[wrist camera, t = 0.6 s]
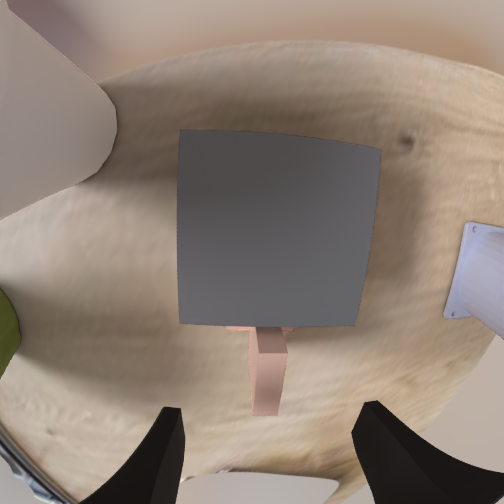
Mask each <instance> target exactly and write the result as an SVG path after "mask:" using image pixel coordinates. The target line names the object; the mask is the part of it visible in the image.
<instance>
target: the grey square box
mask: <svg viewBox="0 0 504 504" xmlns="http://www.w3.org/2000/svg"><path fill="white" fill-rule="evenodd" d="M380 161H381V149H379V148H374V147H369V146H363V145H358V144H352V143H346V142H340V141H333V140H326V139H319V138H311V137H303V136H294V135H284V134H273V133H261V132H245V131H224V130H180V142H179V161H178V188H177V275H178V302H179V321H180V324H195V325H214V326H240V327H329V326H355V323H356V319H357V314H358V310H359V305H360V301H361V296H362V291H363V286H364V281H365V276H366V271H367V265H368V260H369V254H370V248H371V241H372V235H373V228H374V220H375V213H376V204H377V195H378V185H379V174H380Z"/></svg>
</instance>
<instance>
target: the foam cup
mask: <svg viewBox="0 0 504 504" xmlns="http://www.w3.org/2000/svg"><path fill="white" fill-rule="evenodd" d="M116 133H117V121H116V109H115V107H114V105H113V103H112V102H111V100H110V99H109V97H108V96H107V94H106V92H104V91H103V90H102V88H101V87H99V86H98V85H97V84H96V83H95V82H94V81H93V80H91V79H90V78H89V77H88V76H87V75H86V74H85V73H83V72H82V71H81V70H80V69H79V68H78V67H77V66H75V65H74V64H73V63H72V62H71V61H70V60H68V59H67V58H66V57H65V56H64V55H63V54H62V53H60V52H59V51H58V50H57V49H56V48H55V47H53V46H52V45H51V44H50V43H49V42H47V41H46V40H45V39H44V38H43V37H41V36H40V35H39V34H38V33H37V32H35V31H34V30H33V29H32V28H31V27H30V26H28V25H27V24H26V23H25V22H24V21H22V20H21V19H20V18H19V17H18V16H16V15H15V14H14V13H13V12H12V11H10V10H9V8H8V5H7V2H6V0H0V220H1V219H3V218H5V217H7V216H9V215H11V214H13V213H15V212H17V211H19V210H21V209H23V208H25V207H27V206H29V205H31V204H33V203H35V202H37V201H39V200H41V199H43V198H46V197H48V196H50V195H52V194H55V193H57V192H59V191H61V190H64V189H66V188H69V187H71V186H73V185H75V184H77V183H80V182H82V181H83V180H85V179H87V178H88V177H90V176H92V175H93V174H95V173H97V172H98V170H99V169H100V167H101V166H102V165H103V163H104V162H105V160H106V159H107V158H108V156H109V155H110V154H111V151H112V147H113V143H114V140H115V136H116Z"/></svg>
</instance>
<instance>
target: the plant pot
mask: <svg viewBox="0 0 504 504" xmlns="http://www.w3.org/2000/svg"><path fill="white" fill-rule="evenodd" d="M20 342H21V335H20V333H19V326H18V319H17V316H16V314H15V311H14V309H13V307H12V305H11V304H10V302H9V300H8V299H7V297H6V296H5V295H4V293H3V292H2V291H1V290H0V379H1V377H2V375H3V373H4V371H5V369H6V367H7V366H8V364H9V362H10V360H11V359H12V357H13V355H14V354H15V352H16V350H17V349H18V347H19V345H20Z"/></svg>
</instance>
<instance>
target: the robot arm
mask: <svg viewBox="0 0 504 504" xmlns="http://www.w3.org/2000/svg"><path fill="white" fill-rule="evenodd" d="M473 227H474V229H473ZM470 316H474V317H476V318H477V319H478V320H480V321H481V322H482V323H483V324H485V325H486V326H487V327H489V328H490V329H491V330H492V331H494V332H495V333H496V334H497V335H499V336H500V337H501V338H502V339H504V228H503V227H497V226H492V225H487V224H481V223H476V222H470V221H468V222H467V223H466V224H465V226H464V231H463V237H462V242H461V247H460V252H459V257H458V261H457V266H456V270H455V274H454V278H453V282H452V286H451V289H450V293H449V296H448V300H447V303H446V306H445V310H444V313H443V317H444V318H445V319H455V318H463V317H470ZM351 434H352V438H353V443H354V447H355V451H356V454H357V456H358V459H359V462H360V464H361V467H362V469H363V471H364V474H365V476H366V479H367V481H368V484H369V486H370V489H371V491H372V494H373V497H374V501H375V504H495V503H496V502H498V501H499V500H500V499H501V498H502V497H503V496H504V473H500V472H494V471H490V470H485V469H482V468H479V467H476V466H473V465H470V464H467V463H465V462H462V461H460V460H458V459H455V458H453V457H452V456H450V455H448V454H446V453H444V452H442V451H441V450H439V449H437V448H436V447H434V446H433V445H431V444H430V443H428V442H427V441H426V440H424V439H423V438H421V437H420V436H419V435H417V434H416V433H415V432H414V431H412V430H411V429H410V428H409V427H407V426H406V425H405V424H404V423H403V422H402V421H400V420H399V419H398V418H397V417H396V416H395V415H394V414H392V413H391V412H390V411H389V410H388V409H387V408H386V407H385V406H383V405H382V404H381V403H380V402H379V401H378V400H376V401H370V402H364V405H363V407H362V410H361V412H360V414H359V417H358V419H357V421H356V423H355V425H354V428H353V430H352V432H351ZM184 451H185V433H184V427H183V421H182V414H181V408H173V407H163V408H162V410H161V412H160V414H159V415H158V417H157V419H156V421H155V422H154V424H153V426H152V427H151V429H150V430H149V432H148V433H147V435H146V436H145V438H144V439H143V440H142V442H141V443H140V445H139V446H138V447H137V449H136V450H135V451H134V452H133V454H132V455H131V456H130V457H129V459H128V460H127V461H126V462H125V463H124V464H123V466H122V467H121V468H120V469H119V470H118V471H117V472H116V473H115V474H114V475H113V476H112V477H111V478H110V479H109V480H108V481H107V482H106V483H104V484H103V485H102V486H101V487H100V488H99V489H97V490H96V491H95V492H94V493H93V494H91V495H90V496H89V497H87V498H86V499H84V500H83V501H81V502H80V503H78V504H175V503H176V498H177V493H178V487H179V482H180V477H181V472H182V467H183V462H184Z"/></svg>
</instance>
